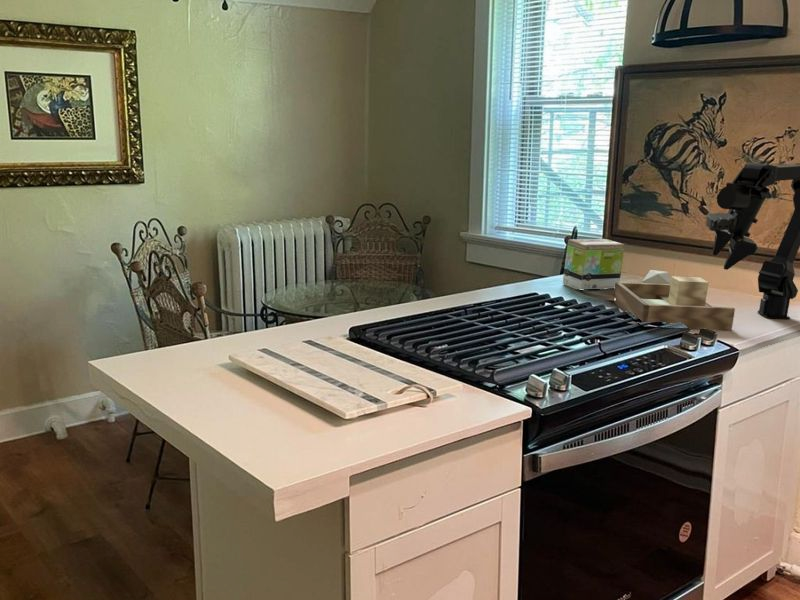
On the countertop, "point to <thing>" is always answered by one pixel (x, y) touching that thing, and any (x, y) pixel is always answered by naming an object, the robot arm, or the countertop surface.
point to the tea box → (593, 263)
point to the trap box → (669, 307)
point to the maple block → (687, 291)
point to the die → (657, 277)
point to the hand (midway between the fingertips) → (719, 261)
